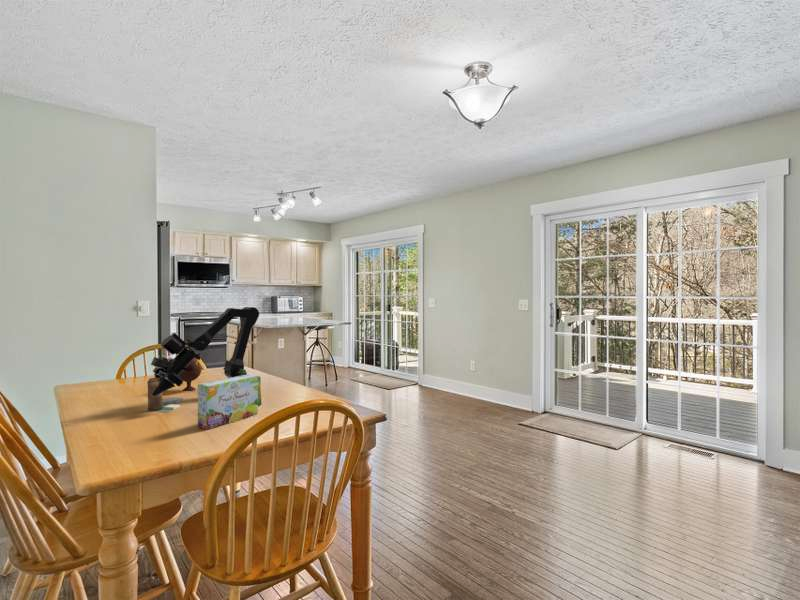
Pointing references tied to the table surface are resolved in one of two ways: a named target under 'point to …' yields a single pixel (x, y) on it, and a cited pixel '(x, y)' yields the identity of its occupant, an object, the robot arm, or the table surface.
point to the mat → (167, 408)
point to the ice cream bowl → (190, 374)
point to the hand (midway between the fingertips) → (151, 394)
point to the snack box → (227, 401)
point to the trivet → (171, 400)
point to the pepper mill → (154, 401)
